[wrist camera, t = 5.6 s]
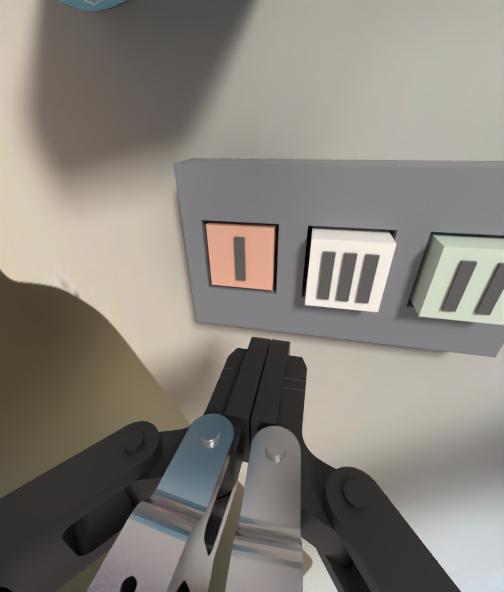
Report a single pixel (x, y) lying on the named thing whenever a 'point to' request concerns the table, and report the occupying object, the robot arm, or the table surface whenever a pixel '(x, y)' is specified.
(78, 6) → the data package
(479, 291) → the button two
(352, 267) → the button three
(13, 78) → the table surface
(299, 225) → the button panel
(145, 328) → the table surface
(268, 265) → the button one
